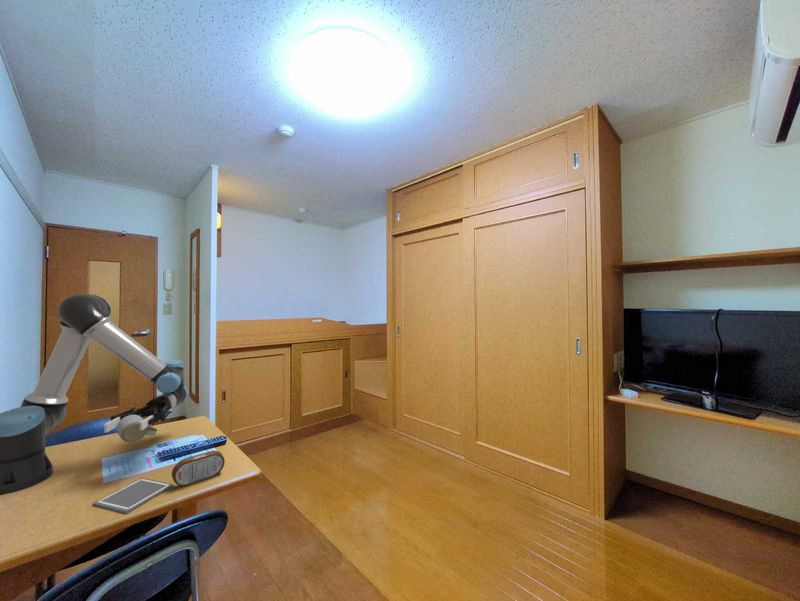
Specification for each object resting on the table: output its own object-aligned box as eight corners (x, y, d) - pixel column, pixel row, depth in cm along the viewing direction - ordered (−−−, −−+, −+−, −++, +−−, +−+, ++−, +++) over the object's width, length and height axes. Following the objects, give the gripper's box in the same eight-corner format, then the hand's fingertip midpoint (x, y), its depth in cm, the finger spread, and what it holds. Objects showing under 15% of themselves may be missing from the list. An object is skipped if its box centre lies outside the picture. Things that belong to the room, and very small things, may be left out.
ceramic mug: (121, 446, 107) (121, 423, 107) (115, 439, 112) (116, 417, 112) (159, 436, 115) (160, 415, 115) (153, 430, 120) (153, 409, 120)
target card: (92, 505, 95) (92, 502, 95) (141, 479, 108) (141, 477, 108) (126, 514, 91) (126, 511, 91) (173, 486, 105) (173, 483, 105)
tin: (223, 470, 114) (223, 446, 114) (225, 473, 112) (225, 449, 112) (171, 487, 104) (171, 461, 104) (173, 491, 102) (172, 465, 102)
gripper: (191, 412, 132) (160, 436, 110) (129, 416, 128) (84, 441, 106) (191, 394, 132) (160, 414, 110) (129, 397, 128) (84, 418, 106)
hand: (123, 427), depth 108 cm, fingers closed on ceramic mug, 10 cm apart
